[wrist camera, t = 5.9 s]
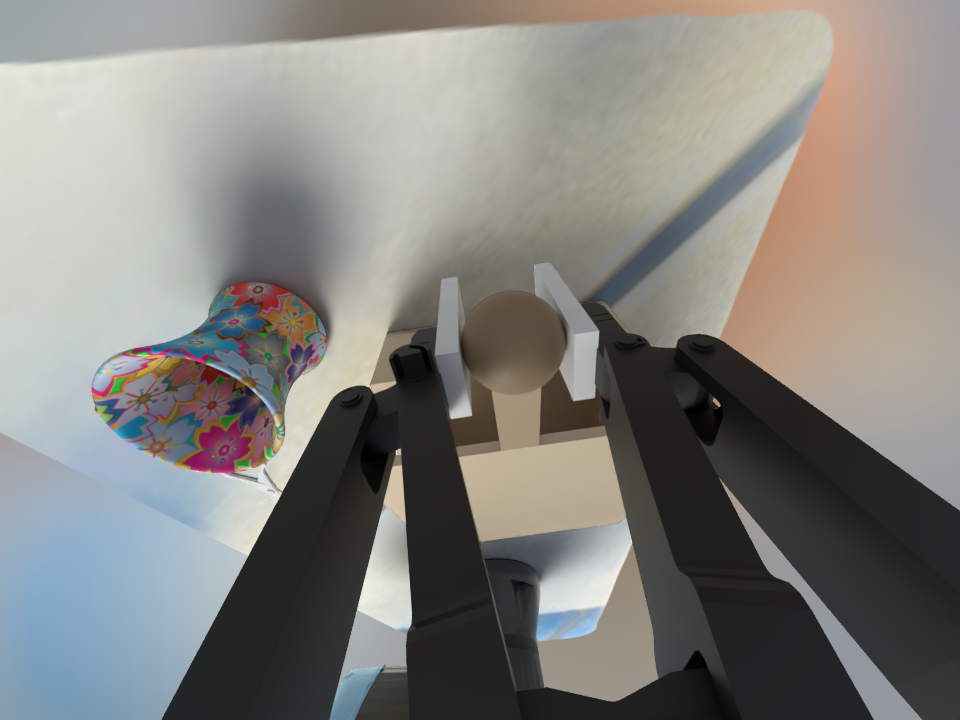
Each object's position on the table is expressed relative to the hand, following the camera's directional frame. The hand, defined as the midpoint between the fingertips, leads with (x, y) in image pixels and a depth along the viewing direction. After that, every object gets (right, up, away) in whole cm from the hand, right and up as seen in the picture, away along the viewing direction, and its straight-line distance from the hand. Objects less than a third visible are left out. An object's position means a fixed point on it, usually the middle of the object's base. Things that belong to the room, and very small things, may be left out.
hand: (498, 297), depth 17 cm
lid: (+2, -9, +7) cm, 12 cm away
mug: (-19, 0, +11) cm, 22 cm away
